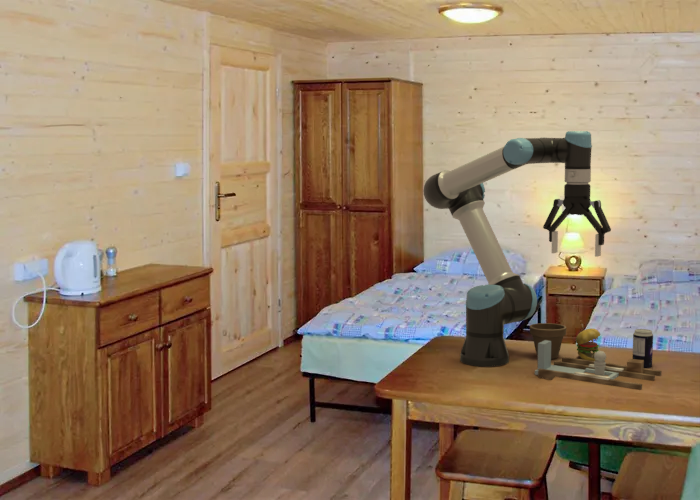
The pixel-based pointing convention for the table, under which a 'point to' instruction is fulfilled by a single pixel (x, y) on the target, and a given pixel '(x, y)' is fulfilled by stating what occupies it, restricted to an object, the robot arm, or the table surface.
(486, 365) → the robot arm
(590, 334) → the hamburger
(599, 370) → the chess piece
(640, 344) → the beverage can
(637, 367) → the walnut cube
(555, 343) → the flower pot
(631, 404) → the table surface
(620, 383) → the lane rails
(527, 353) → the table surface
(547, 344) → the pale grey slab
